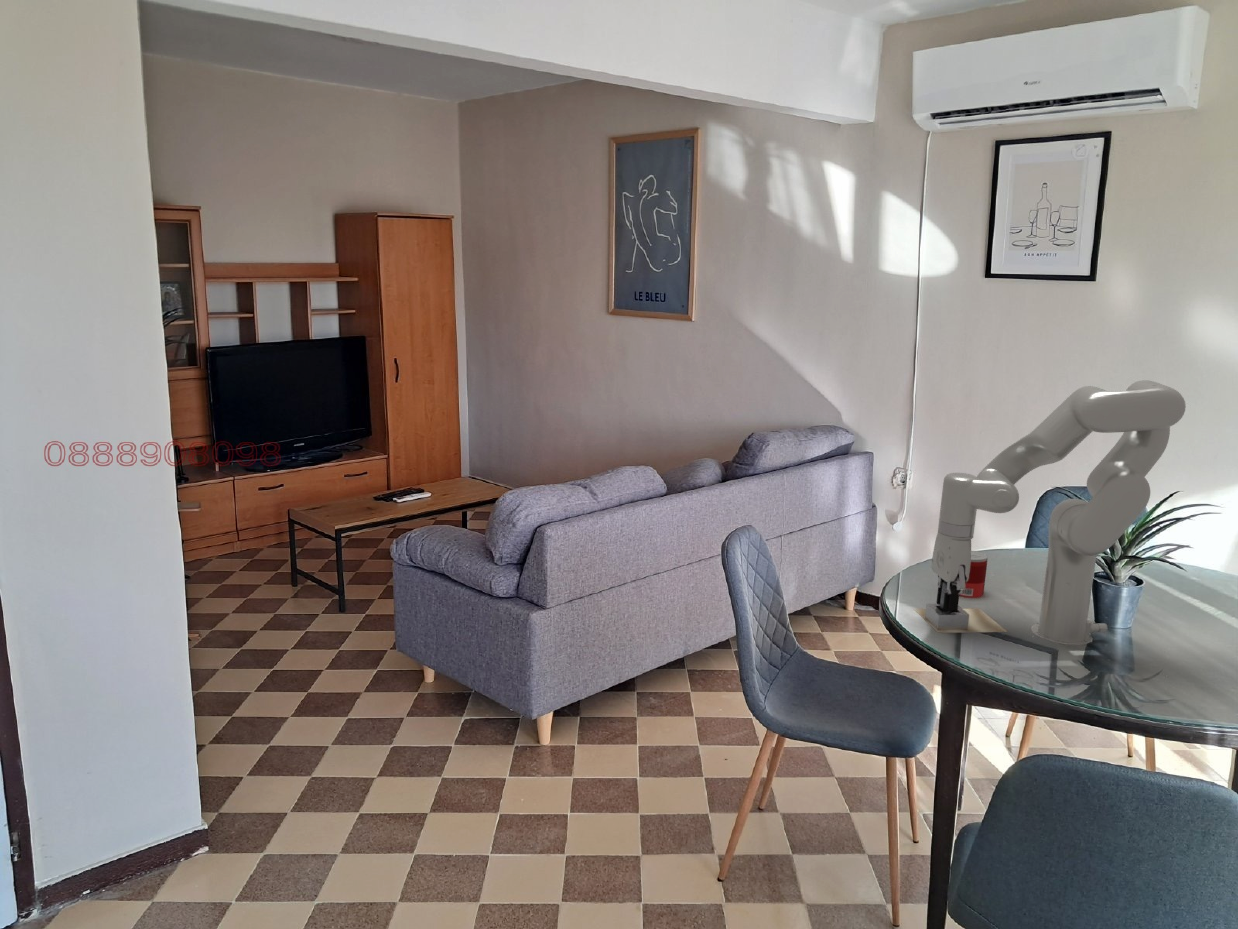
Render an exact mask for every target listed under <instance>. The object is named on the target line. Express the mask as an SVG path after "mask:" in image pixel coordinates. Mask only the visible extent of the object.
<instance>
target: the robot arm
mask: <svg viewBox="0 0 1238 929" xmlns="http://www.w3.org/2000/svg"><path fill="white" fill-rule="evenodd" d="M1185 412H1186V401H1185V399H1184V397H1183V395H1182V394H1181V392H1179V391H1178V390H1177V389H1175V388H1173V387H1170V386H1167V385H1164V384H1162V383H1160V382H1156V381H1154V380H1153V381H1152V380H1145V379H1144V380H1137V381H1134V382H1133V383H1131V384H1130V385H1129V386H1128V387H1127V388H1126V390H1119V391H1118V390H1117V391H1116V390H1115V391H1114V390H1111V391H1110V390H1109V391H1107V390H1105V389H1103V388H1100V387H1099V386H1091V385H1086V386H1083V387H1079V388H1077V389H1076V390H1075V391H1073V392H1072V393H1071V394H1069V396H1068V397H1066V398H1065V400H1064V401H1063V402H1061V403H1060V405H1058V406H1057V407H1056V408H1055V409H1054V410H1053V411H1052V412H1051V413H1050V414H1049V415H1048V416H1047V417H1046V418H1045V419H1044V420H1043V421H1042V422H1041V423H1040V424H1038V426H1036V427H1035V428H1034V429H1033V430H1032V431H1031V432H1029V433H1028V434H1026V435H1025V436H1023V437H1022V438H1020V439H1018V440H1017V441H1016V442H1014V443H1012V444H1011V445H1009V446H1008V447H1006V448H1004V449H1003V450H1002V451H1001V452H1000V453H999V454H998V455H996V456H995V457H994V458H993V459H992V460H991V461H990V462H989V463H988V464H987V465H986V466H985V467H984V468H983V469H982V470H980V471H979V473H978V474H977V476H976V475H974V474H970V473H966V472H950V473H948V474H946V475H945V477H944V478H943V483H942V492H941V500H940V501H941V502H940V511H939V516H938V517H939V518H938V527H937V533H936V538H935V542H934V546H933V551H932V559H931V565H930V568H931V571H932V572H933V573H935V574H936V575H937V577H938V579H937V595H936V602H935V604H938V605H940V600H941V592H942V585H943V582H944V581H946V582H947V593H945V595H944V604H943V609H944V610H945V611H956V610H957V609H958V606H959V600H960V596H959V594H961V590H964V589H965V582H967V581H968V578H969V573H970V564H971V551H972V540H973V538H974V534H975V527H976V526H975V525H976V518H977V510H981V511H985V512H989V513H994V514H1006V513H1010V512H1011V511H1013V510H1014V509H1015V508H1016V507H1017V505H1018V504H1019V501H1020V493H1019V491H1018V489H1017V487H1016V486H1015V485H1016V484H1017V483H1018V482H1019V481H1020V480H1021V479H1023V477H1025V476H1026V475H1028V474H1029V473H1030V472H1032V471H1034V470H1035V469H1038V468H1039V467H1042V466H1047V465H1052V464H1055V463H1058V462H1060V461H1062V460H1063V459H1065V457H1067V456H1068V455H1069V454H1071V453H1072V451H1073V450H1074V449H1075V448H1076V447H1077V446H1079V445H1080V444H1081V443H1082V442H1083V441H1085V439H1086V438H1088V436H1090V434H1091V433H1093V432H1095V433H1100V434H1101V433H1106V434H1112V433H1123V434H1122V435H1121V437H1119V439H1118V440H1117V442H1116V443H1115V444H1114V446H1113V447H1112V448H1111V449H1110V450H1109V451H1108V453H1107V454H1106V455H1105V456H1104V457H1103V458H1102V460H1100V462H1099V463H1098V464H1097V465H1096V466H1095V467H1094V468H1093V469H1092V471H1091V472H1090V474H1089V475H1088V477H1087V480H1086V488H1087V491H1088V493H1089V495H1090V496H1091V499H1090V500H1089V501H1086V500H1084V499H1080V498H1068V499H1064V500H1062V501H1060V502H1059V503H1057V505H1056V506H1055V507H1054V508H1053V509H1052V511H1051V514H1050V516H1049V520H1048V521H1049V522H1048V551H1047V559H1046V568H1045V573H1044V575H1045V576H1044V582H1043V588H1042V589H1043V590H1042V597H1041V599H1042V600H1041V603H1040V604H1041V605H1040V612H1039V620H1038V623H1037V622H1036V623H1034V624H1033V625H1031V626H1030V630H1031V632H1032V633H1033V634H1035V635H1036V636H1038V637H1040V638H1042V639H1044V640H1047V641H1050V642H1053V643H1058V644H1062V645H1063V644H1064V645H1075V646H1076V645H1085V644H1089V643H1093V636H1092V635H1091V634H1094V633H1096V632H1097V633H1107V632H1108V629H1109V628H1108V625H1107V623H1106V622H1105V623H1103V622H1101V623H1096V622H1095V620H1094V619H1093V620H1092V619H1091V620H1088V617H1089V612H1090V611H1089V610H1090V605H1091V604H1090V603H1091V595H1092V589H1093V584H1094V583H1093V582H1094V576H1095V571H1096V560H1097V558H1096V557H1097V555H1101V554H1103V553H1104V552H1106V551H1107V550H1109V548H1112V547H1113V545H1114V544H1116V542H1117V541H1118V540H1119V539H1120V538H1121V537H1122V535H1124V534H1125V532H1126V531H1127V530H1128V529H1129V528H1130V527H1131V526H1132V525H1133V523H1135V521H1137V519H1138V518H1139V516H1140V515H1142V513H1143V511H1144V510H1145V509H1146V508H1147V506H1148V503H1149V502H1150V498H1151V486H1150V483H1149V481H1148V480H1147V479H1146V476H1147V475H1148V474H1149V472H1150V471H1151V470H1152V469H1153V468H1154V466H1155V465H1156V464H1157V463H1158V461H1159V460H1160V459H1161V457H1162V456H1163V453H1164V452H1165V451H1166V448H1167V447H1168V444H1169V439H1170V432H1171V427H1173V426H1174V425H1176V424H1177V423H1179V422H1180V421H1181V420H1182V418H1183V416H1184V415H1185ZM955 578H957V580H955ZM952 584H956V585H953V586H952Z"/></svg>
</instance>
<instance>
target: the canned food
mask: <svg viewBox="0 0 1238 929" xmlns="http://www.w3.org/2000/svg"><path fill="white" fill-rule="evenodd" d="M988 557H989V556H988V555H987V554H985V553H983V552H980V551H976V550H971V564H970V573H969V578H968V581H967V582H965V589H964V590H961V594H959V597H962V598H969V599H973V598H974V599H977V598H982V597H983V596H984V593H985V584H986V577H987V569H988V568H987V567H988ZM955 580H957V578H955Z"/></svg>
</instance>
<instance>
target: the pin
mask: <svg viewBox="0 0 1238 929" xmlns="http://www.w3.org/2000/svg"><path fill="white" fill-rule="evenodd" d="M953 585H956V584H952V586H953ZM945 593H947V582H946V581H944V582H943V585H942V592H941V600H940V607H939V610H940V611H941V612H942V613H952V611H945V610H944V609H943V604H944V595H945Z"/></svg>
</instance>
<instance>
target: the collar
mask: <svg viewBox="0 0 1238 929" xmlns="http://www.w3.org/2000/svg"><path fill="white" fill-rule="evenodd" d="M939 607H940V605H938V604H937V603H926V605H925V609H926V612H925V619H927V620H928V621H929V622H930V623H931V624H932V625H933V626H934V627H935V628H936V629H937V630H968V623H969V614H968V613H967V612H965V611H964V610H963V609H964V608H962V607H961V606H959V605H958V609H957V610H956V611H952V613H942V612H941V611H940V610H939Z"/></svg>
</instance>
